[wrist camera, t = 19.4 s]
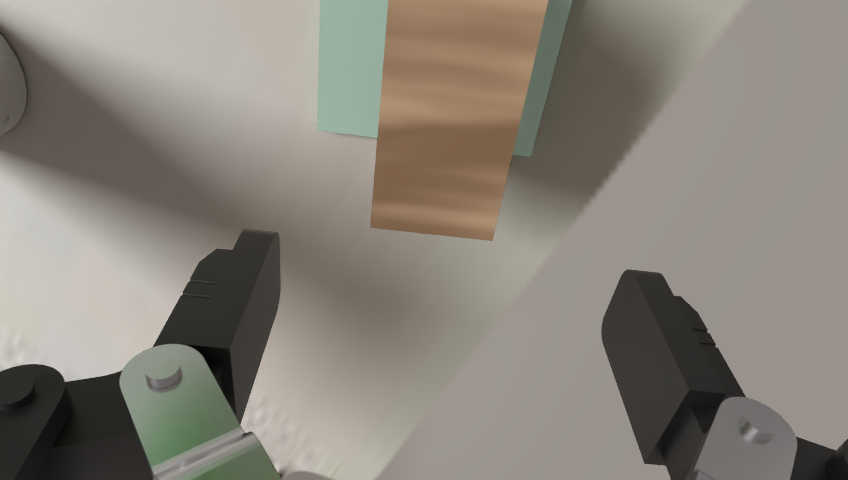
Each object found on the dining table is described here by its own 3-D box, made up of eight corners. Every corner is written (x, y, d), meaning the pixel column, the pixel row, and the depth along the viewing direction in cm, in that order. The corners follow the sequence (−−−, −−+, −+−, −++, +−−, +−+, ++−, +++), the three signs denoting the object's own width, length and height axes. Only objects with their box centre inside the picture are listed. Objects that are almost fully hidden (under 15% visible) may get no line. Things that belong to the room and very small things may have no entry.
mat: (320, 122, 35) (317, 130, 34) (327, -129, 27) (322, -128, 26) (528, 148, 35) (530, 157, 34) (589, -89, 28) (595, -86, 27)
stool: (492, 240, 26) (552, -17, 20) (370, 227, 26) (391, -39, 19) (478, 145, 34) (517, -58, 28) (386, 134, 34) (404, -74, 27)
